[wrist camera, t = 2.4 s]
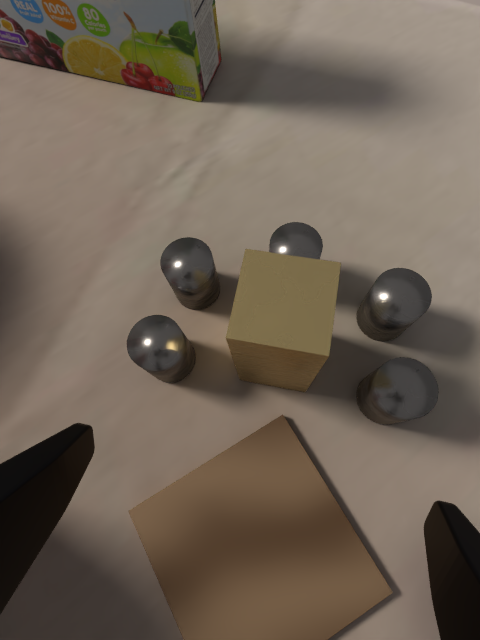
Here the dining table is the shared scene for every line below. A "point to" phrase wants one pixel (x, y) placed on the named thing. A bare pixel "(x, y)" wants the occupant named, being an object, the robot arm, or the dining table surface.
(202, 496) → the walnut board
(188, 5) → the snack box
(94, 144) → the dining table surface
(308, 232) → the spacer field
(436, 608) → the robot arm
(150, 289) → the dining table surface
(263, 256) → the khaki tall block
